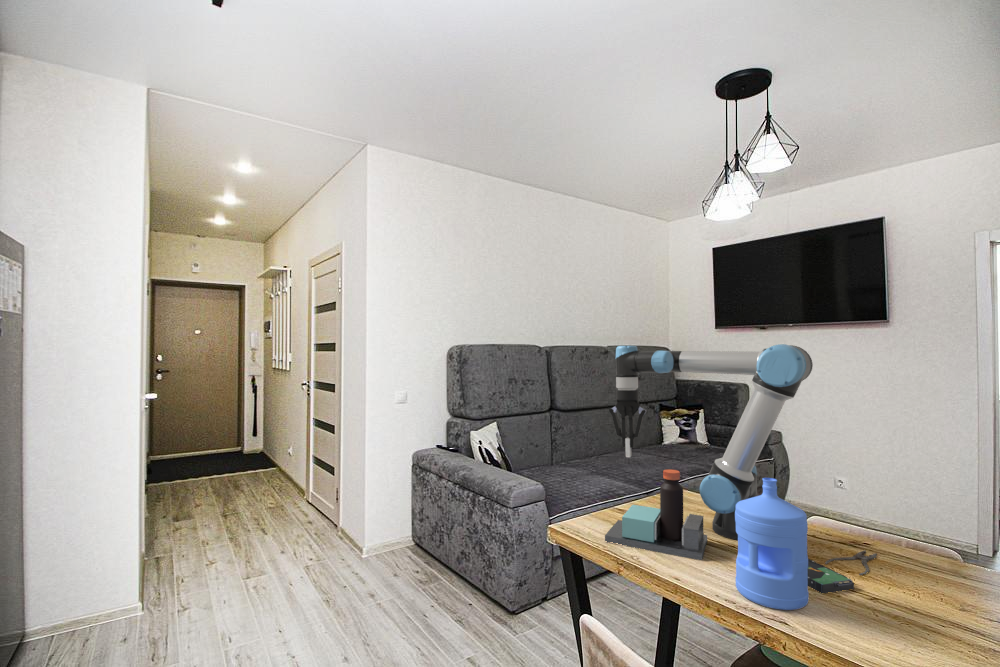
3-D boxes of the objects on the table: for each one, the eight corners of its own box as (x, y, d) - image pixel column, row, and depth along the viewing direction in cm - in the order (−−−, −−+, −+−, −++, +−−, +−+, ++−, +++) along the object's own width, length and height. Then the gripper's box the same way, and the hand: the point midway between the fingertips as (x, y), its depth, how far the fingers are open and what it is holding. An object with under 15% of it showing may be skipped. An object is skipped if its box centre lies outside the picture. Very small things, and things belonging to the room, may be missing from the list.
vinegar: (684, 534, 154) (684, 470, 155) (681, 542, 148) (681, 474, 149) (662, 530, 157) (662, 467, 158) (658, 537, 151) (658, 472, 152)
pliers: (823, 564, 137) (838, 544, 151) (823, 567, 137) (838, 546, 151) (866, 575, 130) (877, 553, 144) (866, 578, 130) (877, 556, 144)
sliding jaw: (663, 528, 159) (663, 509, 159) (655, 542, 147) (655, 522, 147) (632, 522, 164) (632, 504, 164) (622, 536, 151) (622, 517, 152)
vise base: (707, 541, 154) (707, 515, 154) (701, 560, 140) (701, 532, 140) (618, 525, 167) (618, 502, 167) (604, 541, 153) (604, 515, 153)
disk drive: (774, 570, 135) (822, 596, 121) (774, 560, 135) (822, 584, 121) (804, 566, 138) (855, 590, 123) (804, 556, 138) (855, 579, 124)
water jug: (761, 575, 131) (760, 469, 132) (823, 602, 117) (821, 483, 118) (721, 587, 124) (720, 475, 125) (781, 618, 110) (780, 491, 111)
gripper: (647, 388, 175) (649, 456, 173) (611, 388, 180) (612, 453, 179) (644, 390, 168) (645, 460, 167) (606, 389, 174) (607, 457, 172)
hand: (628, 456), depth 173 cm, fingers closed
